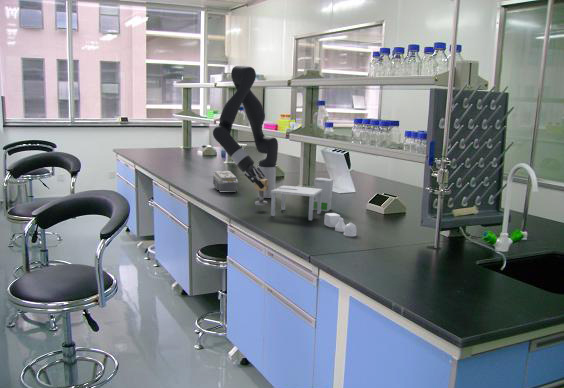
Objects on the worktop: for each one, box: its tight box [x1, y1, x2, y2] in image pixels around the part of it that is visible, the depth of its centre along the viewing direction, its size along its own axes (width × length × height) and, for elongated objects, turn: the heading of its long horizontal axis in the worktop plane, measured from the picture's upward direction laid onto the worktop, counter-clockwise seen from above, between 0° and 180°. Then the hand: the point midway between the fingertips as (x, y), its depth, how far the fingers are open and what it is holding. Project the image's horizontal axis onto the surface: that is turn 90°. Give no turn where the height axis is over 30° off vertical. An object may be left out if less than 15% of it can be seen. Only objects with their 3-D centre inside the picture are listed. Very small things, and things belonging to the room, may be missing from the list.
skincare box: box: [313, 177, 334, 213], centre depth 251 cm, size 8×7×16 cm
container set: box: [323, 212, 357, 237], centre depth 213 cm, size 20×5×6 cm, turn 24°
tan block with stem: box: [254, 178, 268, 206], centre depth 243 cm, size 6×6×12 cm
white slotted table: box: [270, 185, 322, 221], centre depth 238 cm, size 16×20×12 cm
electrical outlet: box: [212, 170, 239, 192], centre depth 296 cm, size 12×28×10 cm, turn 19°
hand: (265, 186), depth 242 cm, fingers closed on tan block with stem, 5 cm apart
